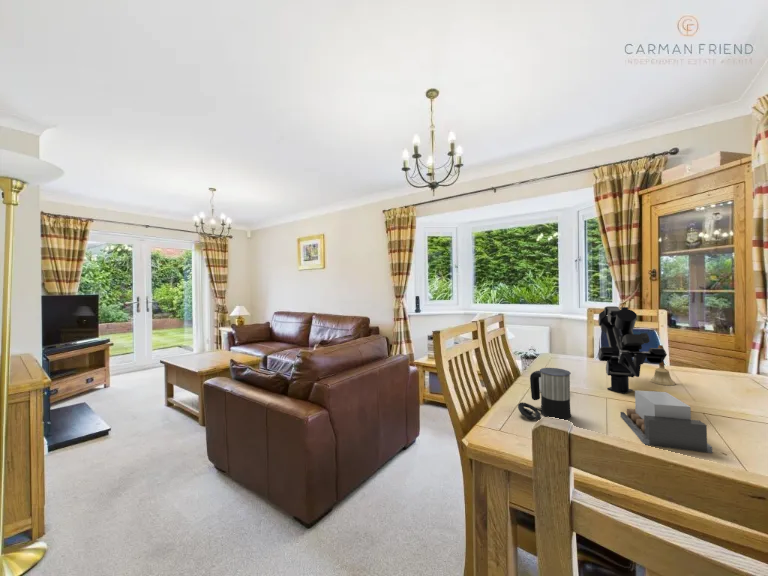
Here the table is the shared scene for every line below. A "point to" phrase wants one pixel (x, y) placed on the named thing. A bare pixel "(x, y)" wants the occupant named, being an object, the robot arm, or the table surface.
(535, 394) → the milk frother
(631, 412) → the roller
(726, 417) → the table surface
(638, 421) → the roller
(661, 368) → the hand bell
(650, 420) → the conveyor frame
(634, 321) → the robot arm
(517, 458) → the table surface
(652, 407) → the grey block
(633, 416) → the roller
